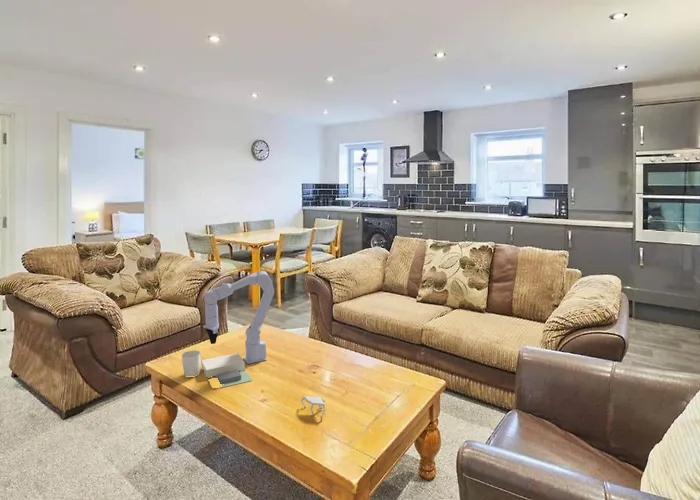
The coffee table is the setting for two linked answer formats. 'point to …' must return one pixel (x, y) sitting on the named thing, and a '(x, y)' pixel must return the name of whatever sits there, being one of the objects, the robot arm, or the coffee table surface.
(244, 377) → the mat
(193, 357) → the white cup
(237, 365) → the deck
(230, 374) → the gray rectangular block
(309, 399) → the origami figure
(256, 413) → the coffee table surface
